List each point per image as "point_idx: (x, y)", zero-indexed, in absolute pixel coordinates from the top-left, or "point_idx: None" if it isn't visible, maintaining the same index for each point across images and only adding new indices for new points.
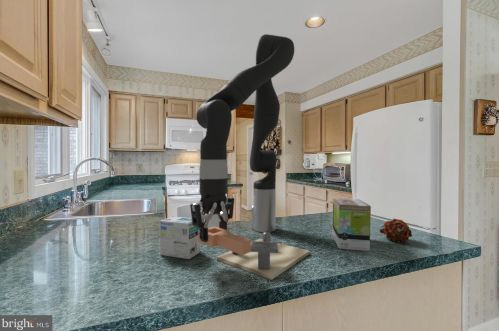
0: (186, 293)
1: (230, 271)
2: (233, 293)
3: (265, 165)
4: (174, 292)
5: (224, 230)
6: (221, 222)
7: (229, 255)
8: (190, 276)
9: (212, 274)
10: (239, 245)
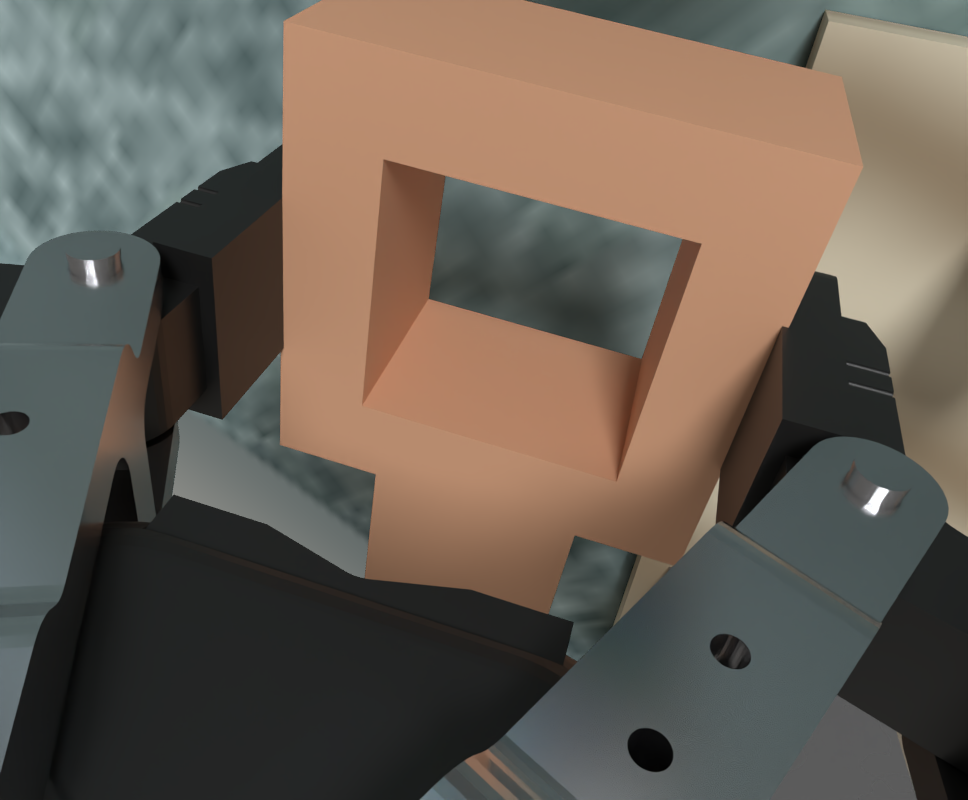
0: (100, 201)
1: (592, 330)
2: (317, 479)
3: None
4: (37, 103)
5: (639, 496)
6: (749, 485)
7: (939, 175)
8: (284, 18)
9: (447, 205)
10: None
